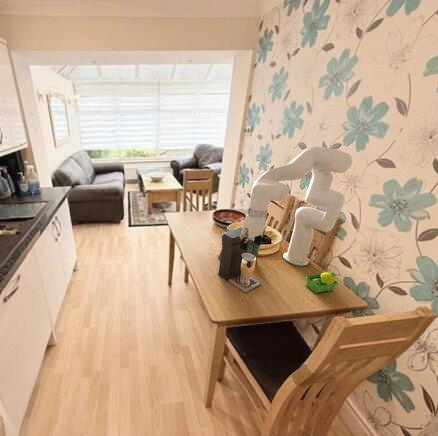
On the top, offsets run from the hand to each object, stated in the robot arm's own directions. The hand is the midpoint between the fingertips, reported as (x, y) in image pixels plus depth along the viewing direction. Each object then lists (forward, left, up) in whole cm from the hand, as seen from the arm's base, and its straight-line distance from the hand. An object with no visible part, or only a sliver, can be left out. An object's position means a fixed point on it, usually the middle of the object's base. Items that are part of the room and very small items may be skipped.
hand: (250, 246), depth 109 cm
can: (-18, -10, -21) cm, 29 cm away
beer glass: (0, 0, -21) cm, 21 cm away
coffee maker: (0, -4, -21) cm, 21 cm away
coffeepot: (-10, -20, -21) cm, 31 cm away
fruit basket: (-27, +22, -21) cm, 41 cm away
